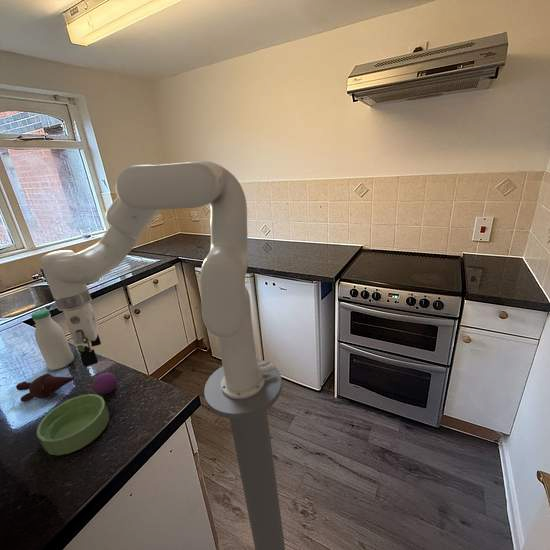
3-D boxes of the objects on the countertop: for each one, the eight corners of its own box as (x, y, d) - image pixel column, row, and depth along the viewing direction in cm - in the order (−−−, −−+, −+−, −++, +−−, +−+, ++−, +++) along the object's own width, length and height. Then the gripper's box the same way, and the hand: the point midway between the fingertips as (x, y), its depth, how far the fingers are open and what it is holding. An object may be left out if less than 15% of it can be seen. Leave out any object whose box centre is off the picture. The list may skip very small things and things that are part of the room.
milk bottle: (76, 362, 103) (56, 310, 95) (50, 373, 98) (26, 320, 91) (71, 353, 108) (51, 304, 101) (46, 364, 103) (23, 313, 96)
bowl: (111, 401, 83) (106, 387, 82) (108, 440, 71) (102, 424, 69) (52, 421, 78) (44, 407, 76) (37, 467, 66) (28, 451, 64)
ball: (119, 381, 91) (114, 365, 89) (119, 394, 86) (113, 377, 84) (97, 389, 89) (91, 372, 87) (95, 402, 84) (89, 385, 81)
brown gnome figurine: (75, 362, 91) (22, 377, 89) (63, 372, 84) (5, 388, 82) (83, 383, 92) (30, 398, 90) (71, 394, 85) (14, 411, 83)
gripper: (85, 308, 70) (106, 367, 76) (93, 284, 85) (110, 335, 91) (47, 317, 67) (72, 377, 74) (62, 290, 82) (82, 343, 89)
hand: (93, 354), depth 82 cm, fingers open, 9 cm apart
